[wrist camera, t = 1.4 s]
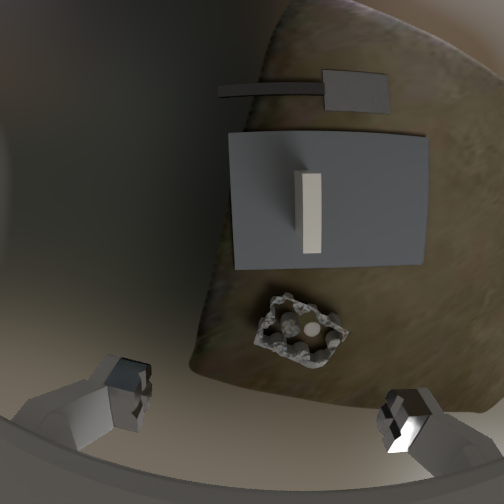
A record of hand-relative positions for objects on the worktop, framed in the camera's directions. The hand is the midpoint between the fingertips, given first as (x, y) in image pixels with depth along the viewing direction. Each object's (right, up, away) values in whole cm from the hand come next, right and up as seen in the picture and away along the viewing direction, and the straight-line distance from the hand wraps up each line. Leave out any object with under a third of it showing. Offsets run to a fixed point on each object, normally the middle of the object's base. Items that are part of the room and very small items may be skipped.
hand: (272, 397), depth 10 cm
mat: (+9, +11, +27) cm, 30 cm away
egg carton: (+6, -5, +32) cm, 33 cm away
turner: (+5, +23, +23) cm, 33 cm away
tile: (+5, +10, +26) cm, 29 cm away
